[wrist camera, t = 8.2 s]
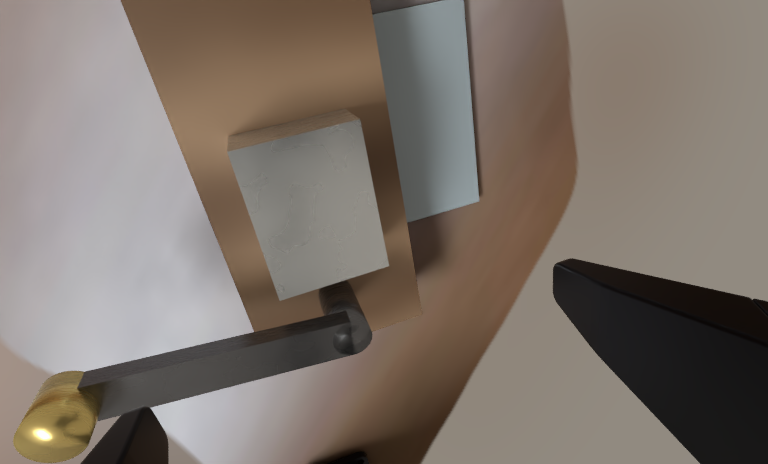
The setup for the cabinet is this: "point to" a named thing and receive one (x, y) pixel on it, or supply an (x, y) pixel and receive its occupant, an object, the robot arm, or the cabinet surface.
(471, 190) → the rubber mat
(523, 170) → the cabinet surface
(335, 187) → the grey block
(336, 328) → the lever
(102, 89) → the cabinet surface
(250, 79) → the body
